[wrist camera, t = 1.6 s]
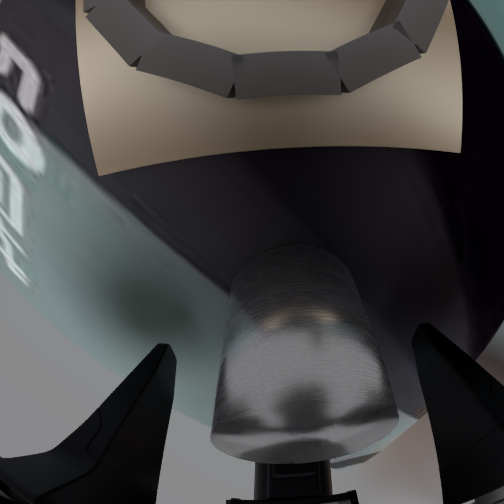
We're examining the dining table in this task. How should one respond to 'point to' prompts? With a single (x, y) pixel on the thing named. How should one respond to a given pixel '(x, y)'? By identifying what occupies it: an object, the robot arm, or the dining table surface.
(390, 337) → the dining table surface
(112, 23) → the ring seat
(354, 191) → the dining table surface
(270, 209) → the dining table surface
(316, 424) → the cylinder
